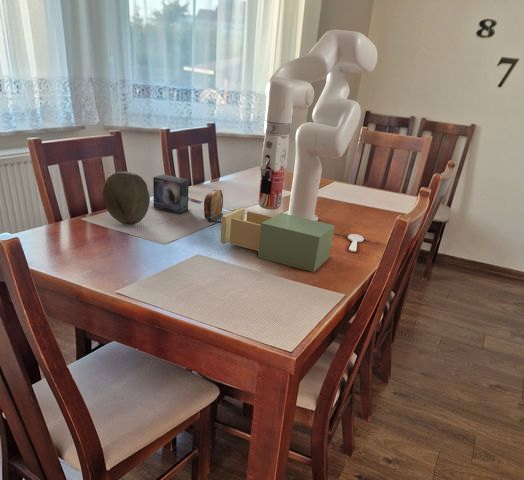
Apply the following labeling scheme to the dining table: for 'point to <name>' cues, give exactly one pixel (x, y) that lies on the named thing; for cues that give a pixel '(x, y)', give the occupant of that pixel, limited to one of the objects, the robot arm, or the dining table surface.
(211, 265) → the dining table surface
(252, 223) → the drawer
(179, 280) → the dining table surface
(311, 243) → the cabinet
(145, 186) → the cantaloupe
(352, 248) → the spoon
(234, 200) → the dining table surface
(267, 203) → the soda can
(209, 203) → the tin
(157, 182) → the small box
